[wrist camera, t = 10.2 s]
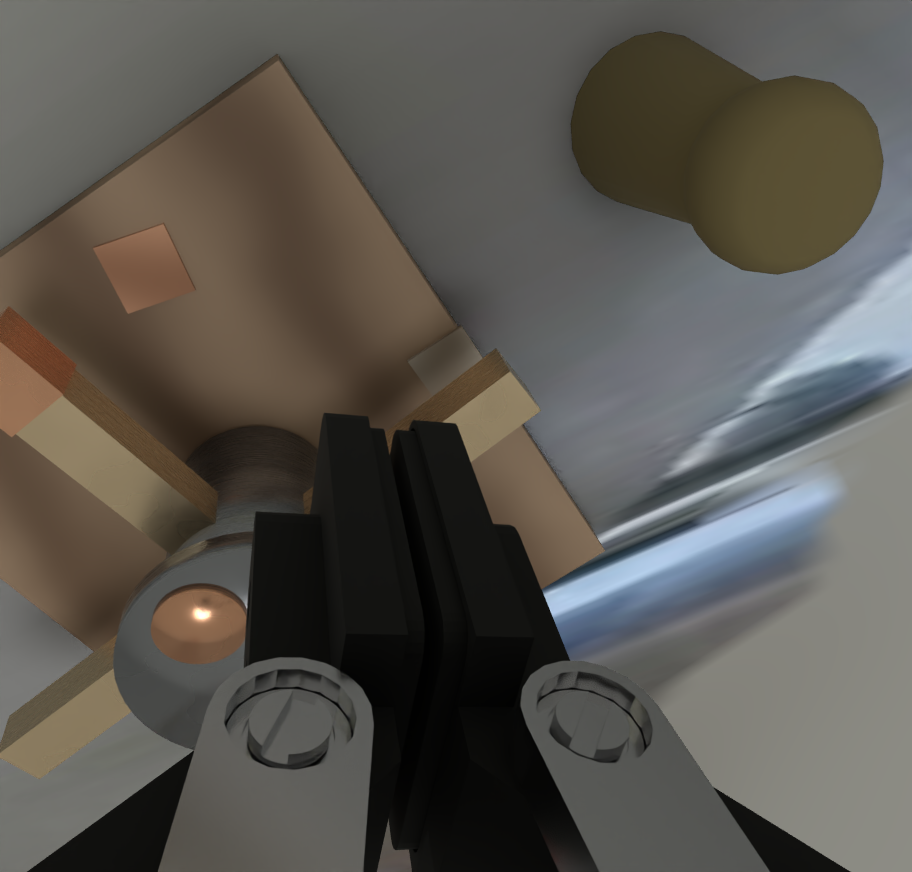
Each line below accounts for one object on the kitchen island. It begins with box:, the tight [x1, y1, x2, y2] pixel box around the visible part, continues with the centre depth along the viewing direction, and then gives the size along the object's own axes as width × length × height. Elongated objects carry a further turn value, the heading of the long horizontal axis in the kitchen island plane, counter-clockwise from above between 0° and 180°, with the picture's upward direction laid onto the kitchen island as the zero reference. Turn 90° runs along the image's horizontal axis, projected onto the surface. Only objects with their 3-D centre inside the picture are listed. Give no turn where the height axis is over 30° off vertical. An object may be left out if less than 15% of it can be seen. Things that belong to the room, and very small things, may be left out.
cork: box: [571, 31, 884, 275], centre depth 27 cm, size 6×6×11 cm
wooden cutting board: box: [0, 54, 605, 652], centre depth 34 cm, size 20×24×2 cm
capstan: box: [0, 306, 541, 779], centre depth 29 cm, size 22×22×10 cm
